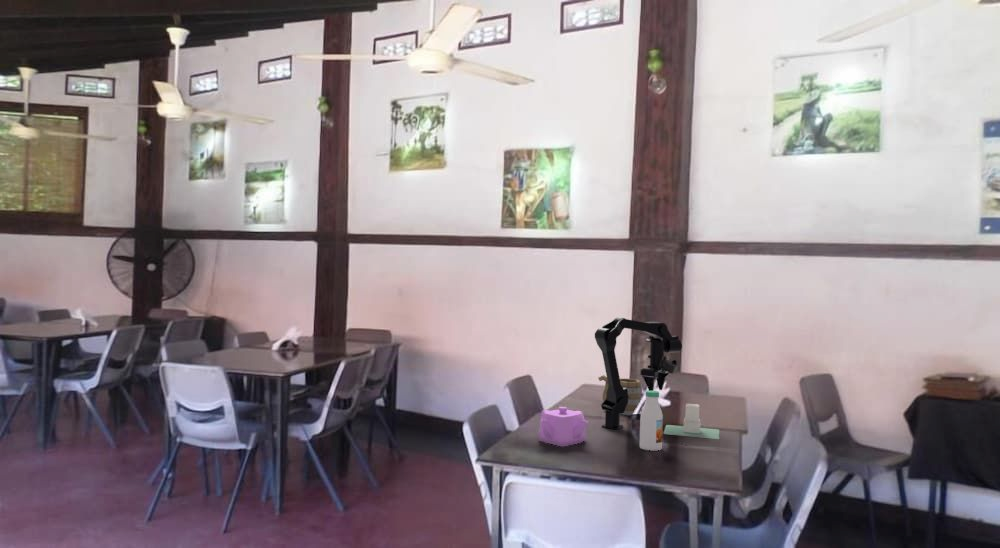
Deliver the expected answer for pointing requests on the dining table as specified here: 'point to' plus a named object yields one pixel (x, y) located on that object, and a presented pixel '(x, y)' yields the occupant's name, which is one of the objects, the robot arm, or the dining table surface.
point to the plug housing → (692, 419)
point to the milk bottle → (651, 423)
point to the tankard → (633, 392)
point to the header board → (703, 433)
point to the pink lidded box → (562, 426)
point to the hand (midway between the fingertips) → (656, 391)
